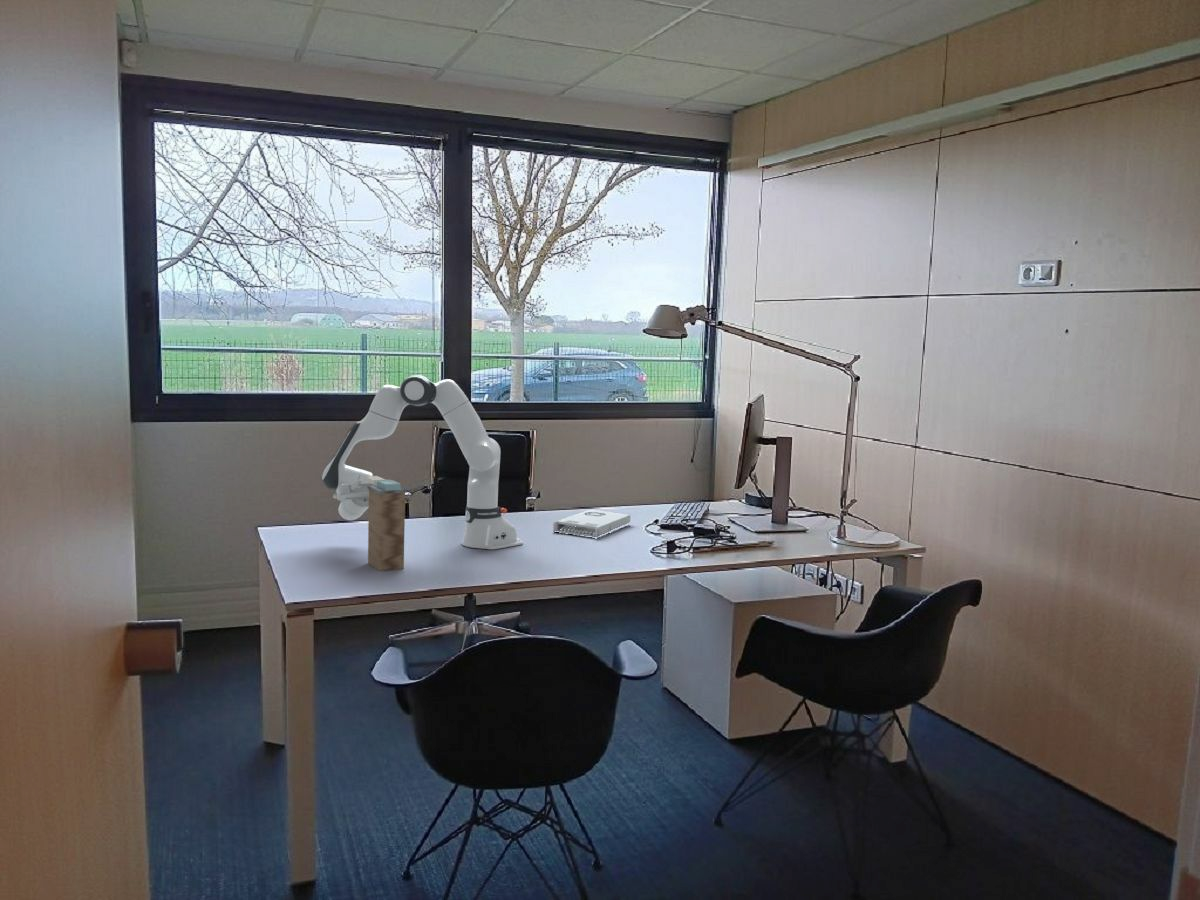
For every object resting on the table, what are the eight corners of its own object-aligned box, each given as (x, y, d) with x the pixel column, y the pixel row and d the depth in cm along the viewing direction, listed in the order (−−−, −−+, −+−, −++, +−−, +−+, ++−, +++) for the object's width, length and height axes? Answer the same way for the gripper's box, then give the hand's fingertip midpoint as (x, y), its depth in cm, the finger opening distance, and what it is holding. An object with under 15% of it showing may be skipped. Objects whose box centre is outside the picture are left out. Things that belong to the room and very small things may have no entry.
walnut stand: (392, 560, 296) (393, 484, 293) (405, 568, 287) (406, 489, 284) (366, 563, 291) (367, 485, 288) (378, 571, 282) (379, 491, 279)
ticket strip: (378, 480, 299) (378, 474, 299) (400, 489, 283) (400, 483, 282) (363, 480, 296) (364, 475, 296) (385, 490, 280) (385, 484, 280)
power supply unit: (552, 534, 349) (553, 522, 349) (589, 520, 379) (590, 509, 378) (595, 540, 341) (596, 528, 341) (630, 526, 371) (630, 514, 370)
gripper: (329, 490, 302) (341, 475, 291) (387, 486, 313) (400, 472, 303) (332, 507, 300) (344, 493, 289) (390, 503, 312) (403, 489, 301)
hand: (373, 482), depth 296 cm, fingers open, 8 cm apart
